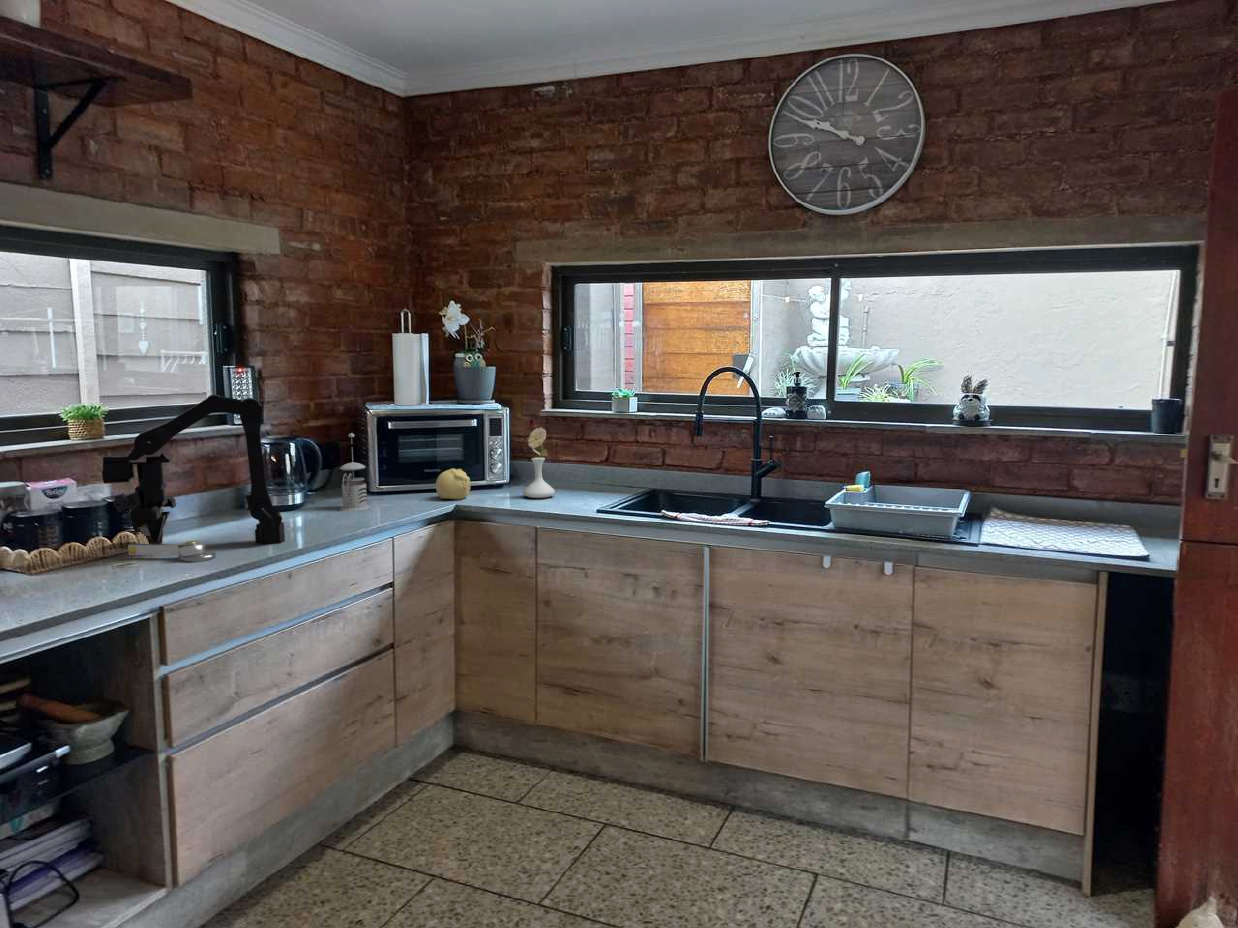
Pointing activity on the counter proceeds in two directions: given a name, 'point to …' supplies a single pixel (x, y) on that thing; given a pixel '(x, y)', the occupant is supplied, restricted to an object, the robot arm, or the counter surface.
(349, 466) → the french press
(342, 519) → the counter surface
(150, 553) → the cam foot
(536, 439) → the flower in vase
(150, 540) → the coffee mug
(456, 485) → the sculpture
